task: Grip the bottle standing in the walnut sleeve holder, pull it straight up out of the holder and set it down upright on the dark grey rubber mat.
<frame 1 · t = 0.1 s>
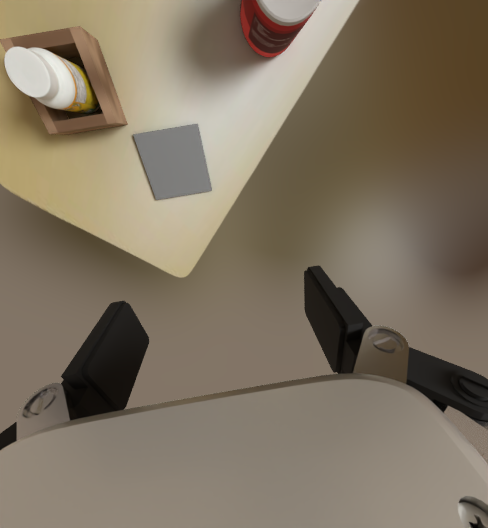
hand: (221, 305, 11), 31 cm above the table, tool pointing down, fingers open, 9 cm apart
sleeve holder: (81, 91, 30), on the table
canned food: (268, 18, 28), on the table
rubber mat: (175, 164, 35), on the table
supplement bottle: (82, 91, 30), resting in sleeve holder
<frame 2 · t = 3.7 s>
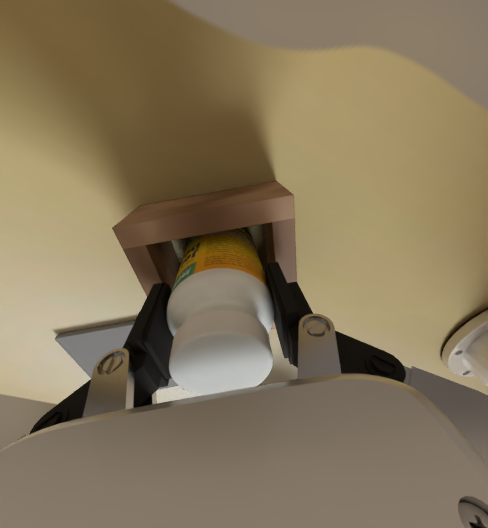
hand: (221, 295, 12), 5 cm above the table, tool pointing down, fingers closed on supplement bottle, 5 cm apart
sleeve holder: (222, 254, 16), on the table
rubber mat: (136, 358, 22), on the table
supplement bottle: (222, 252, 17), resting in sleeve holder, touching gripper
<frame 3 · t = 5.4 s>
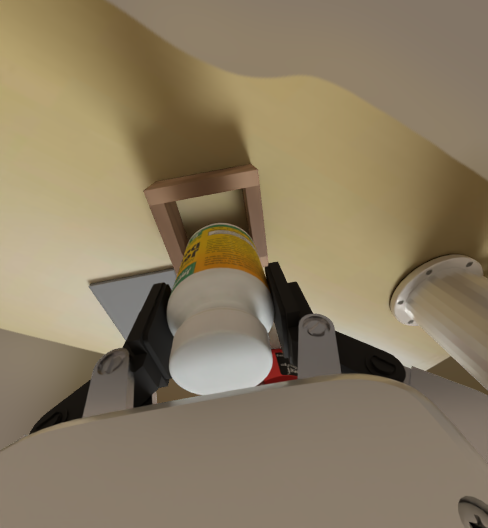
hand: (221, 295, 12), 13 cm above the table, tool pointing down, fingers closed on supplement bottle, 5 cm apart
sleeve holder: (214, 218, 23), on the table
canned food: (272, 361, 37), on the table
rubber mat: (149, 306, 28), on the table
supplement bottle: (222, 252, 17), point 7 cm above the table, touching gripper
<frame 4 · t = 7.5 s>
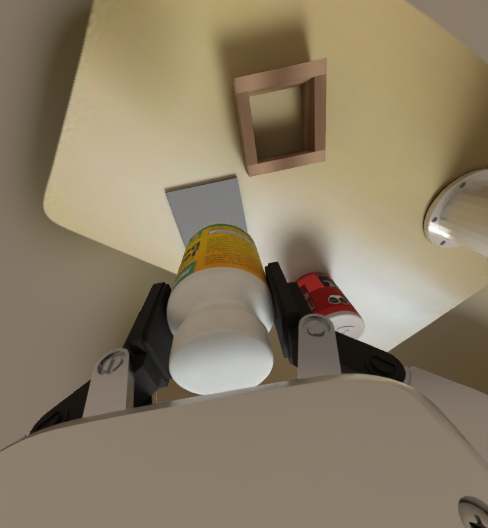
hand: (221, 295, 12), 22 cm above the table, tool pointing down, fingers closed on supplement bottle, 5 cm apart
sleeve holder: (276, 125, 27), on the table
canned food: (311, 287, 41), on the table
rubber mat: (210, 219, 32), on the table
supplement bottle: (222, 252, 17), point 16 cm above the table, touching gripper
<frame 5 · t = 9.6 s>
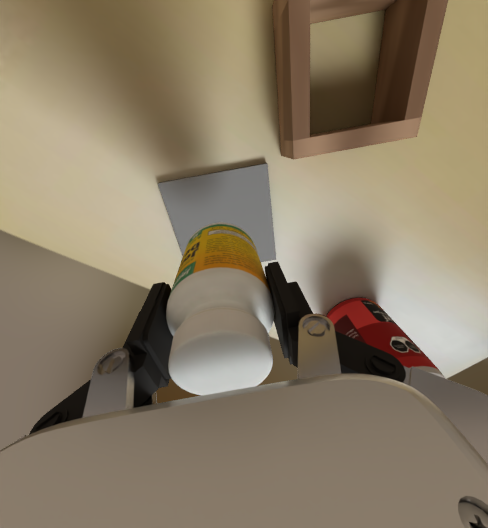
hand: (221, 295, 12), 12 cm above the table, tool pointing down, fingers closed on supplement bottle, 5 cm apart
sleeve holder: (334, 80, 17), on the table
canned food: (349, 315, 31), on the table
rubber mat: (223, 224, 22), on the table
supplement bottle: (221, 252, 17), point 6 cm above the table, touching gripper
when the fingers open (7 cm above the table, at t = 11.4 s): supplement bottle drops 1 cm, resting on rubber mat.
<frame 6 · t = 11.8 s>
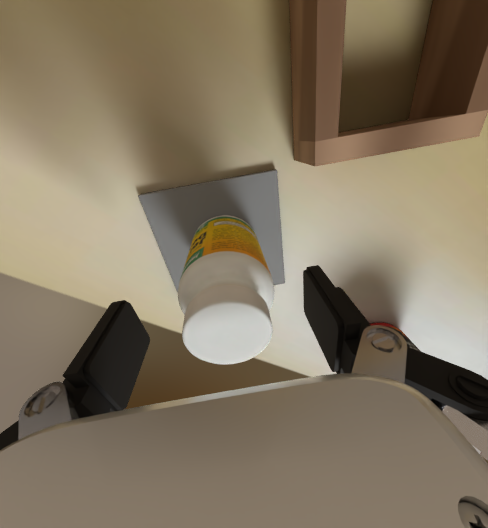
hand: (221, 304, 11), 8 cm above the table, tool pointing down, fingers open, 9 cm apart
sleeve holder: (366, 62, 13), on the table
rubber mat: (222, 243, 18), on the table
supplement bottle: (225, 243, 18), resting on rubber mat
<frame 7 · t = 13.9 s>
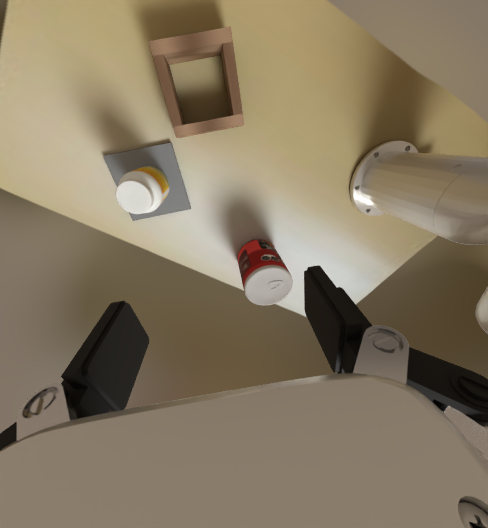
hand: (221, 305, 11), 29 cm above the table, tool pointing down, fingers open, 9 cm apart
sleeve holder: (202, 92, 29), on the table
canned food: (256, 254, 44), on the table
rubber mat: (151, 183, 34), on the table
supplement bottle: (152, 183, 34), resting on rubber mat
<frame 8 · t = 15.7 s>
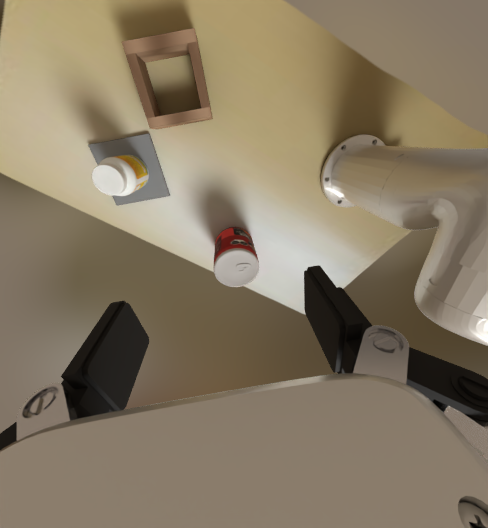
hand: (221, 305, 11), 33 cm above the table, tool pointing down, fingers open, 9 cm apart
sleeve holder: (175, 88, 32), on the table
canned food: (233, 242, 46), on the table
rubber mat: (132, 171, 37), on the table
supplement bottle: (133, 171, 37), resting on rubber mat
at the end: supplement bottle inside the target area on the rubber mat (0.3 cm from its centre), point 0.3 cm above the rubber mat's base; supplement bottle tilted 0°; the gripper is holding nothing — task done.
